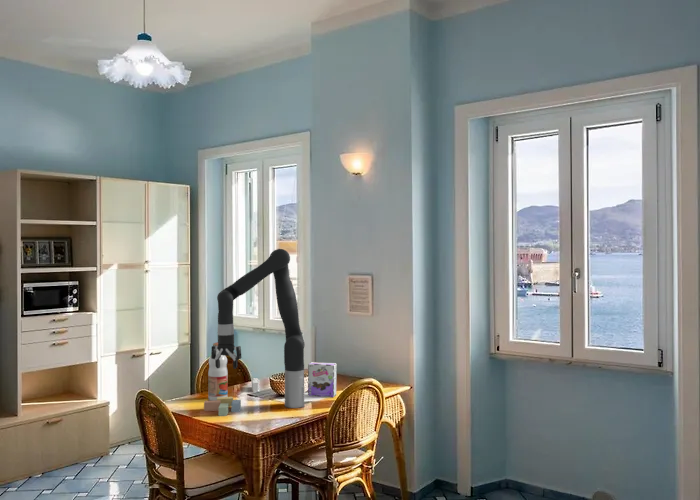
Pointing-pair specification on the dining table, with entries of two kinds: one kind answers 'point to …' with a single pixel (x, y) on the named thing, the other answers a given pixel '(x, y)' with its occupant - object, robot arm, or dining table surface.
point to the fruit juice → (217, 378)
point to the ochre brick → (226, 400)
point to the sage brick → (223, 409)
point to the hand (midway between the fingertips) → (226, 368)
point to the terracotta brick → (212, 405)
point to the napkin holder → (255, 384)
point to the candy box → (322, 379)
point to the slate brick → (236, 406)
